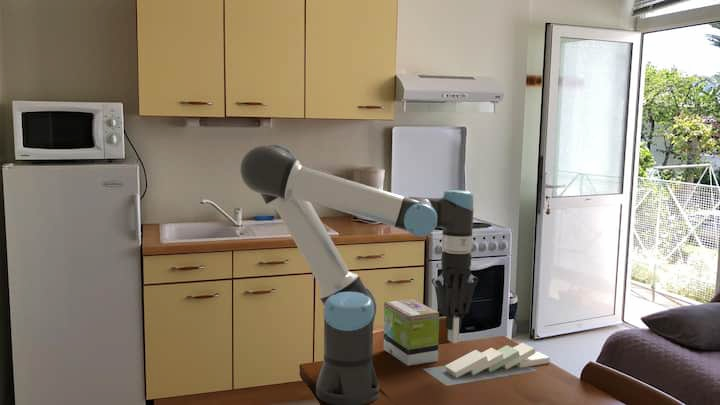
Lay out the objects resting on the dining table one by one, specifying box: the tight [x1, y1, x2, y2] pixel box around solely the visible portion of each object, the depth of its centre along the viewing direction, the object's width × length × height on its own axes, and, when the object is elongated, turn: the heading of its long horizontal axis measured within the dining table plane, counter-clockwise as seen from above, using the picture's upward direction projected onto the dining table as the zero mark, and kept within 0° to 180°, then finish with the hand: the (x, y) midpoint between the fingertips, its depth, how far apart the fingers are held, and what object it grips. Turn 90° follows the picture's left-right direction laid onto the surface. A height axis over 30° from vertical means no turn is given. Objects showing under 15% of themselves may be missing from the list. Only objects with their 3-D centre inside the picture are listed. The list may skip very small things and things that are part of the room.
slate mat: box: [422, 365, 538, 387], centre depth 159 cm, size 28×12×1 cm, turn 113°
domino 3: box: [501, 342, 536, 370], centre depth 163 cm, size 2×5×10 cm
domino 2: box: [469, 347, 504, 375], centre depth 159 cm, size 2×5×10 cm
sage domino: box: [485, 344, 520, 372], centre depth 161 cm, size 2×5×10 cm
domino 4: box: [516, 351, 551, 368], centre depth 165 cm, size 2×5×10 cm
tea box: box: [383, 298, 440, 366], centre depth 169 cm, size 15×10×15 cm
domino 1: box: [444, 349, 488, 378], centre depth 157 cm, size 2×5×10 cm
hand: (452, 341), depth 154 cm, fingers closed
